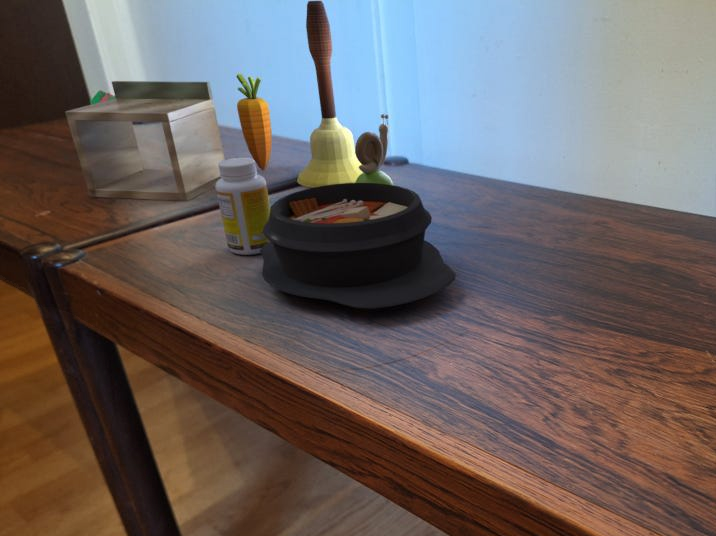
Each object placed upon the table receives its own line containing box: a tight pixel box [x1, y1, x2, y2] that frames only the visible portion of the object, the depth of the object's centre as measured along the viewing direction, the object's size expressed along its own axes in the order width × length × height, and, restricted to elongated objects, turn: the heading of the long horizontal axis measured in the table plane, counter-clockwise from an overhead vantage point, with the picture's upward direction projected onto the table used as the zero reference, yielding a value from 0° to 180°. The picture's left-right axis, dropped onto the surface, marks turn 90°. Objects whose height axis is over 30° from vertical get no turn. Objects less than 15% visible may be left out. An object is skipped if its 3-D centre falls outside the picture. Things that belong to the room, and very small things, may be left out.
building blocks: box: [90, 89, 144, 124], centre depth 155 cm, size 8×8×12 cm
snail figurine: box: [354, 113, 395, 186], centre depth 93 cm, size 5×6×12 cm
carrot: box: [236, 73, 272, 172], centre depth 112 cm, size 5×5×15 cm
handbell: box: [296, 0, 363, 188], centre depth 105 cm, size 12×12×25 cm
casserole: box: [260, 183, 457, 310], centre depth 72 cm, size 25×19×8 cm
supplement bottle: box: [215, 157, 271, 256], centre depth 81 cm, size 6×6×10 cm
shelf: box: [64, 80, 226, 202], centre depth 104 cm, size 16×12×15 cm
